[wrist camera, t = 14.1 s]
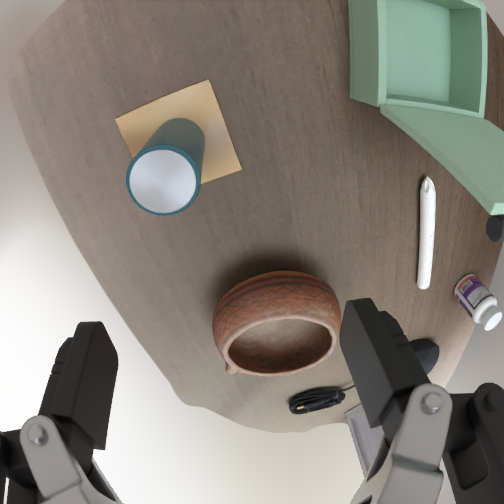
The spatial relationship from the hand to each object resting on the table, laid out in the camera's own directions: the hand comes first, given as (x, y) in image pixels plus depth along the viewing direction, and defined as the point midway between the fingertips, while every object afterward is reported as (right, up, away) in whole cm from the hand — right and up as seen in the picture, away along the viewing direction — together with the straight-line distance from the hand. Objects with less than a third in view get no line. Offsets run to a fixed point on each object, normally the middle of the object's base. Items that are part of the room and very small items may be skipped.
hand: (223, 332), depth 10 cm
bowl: (+3, -3, +33) cm, 33 cm away
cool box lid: (+19, +11, +8) cm, 24 cm away
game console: (+34, -41, +61) cm, 81 cm away
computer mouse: (+23, -21, +47) cm, 57 cm away
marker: (+25, +5, +30) cm, 39 cm away
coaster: (-6, +14, +20) cm, 25 cm away
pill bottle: (+39, -3, +37) cm, 54 cm away
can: (-6, +13, +20) cm, 25 cm away
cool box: (+18, +25, +16) cm, 34 cm away
